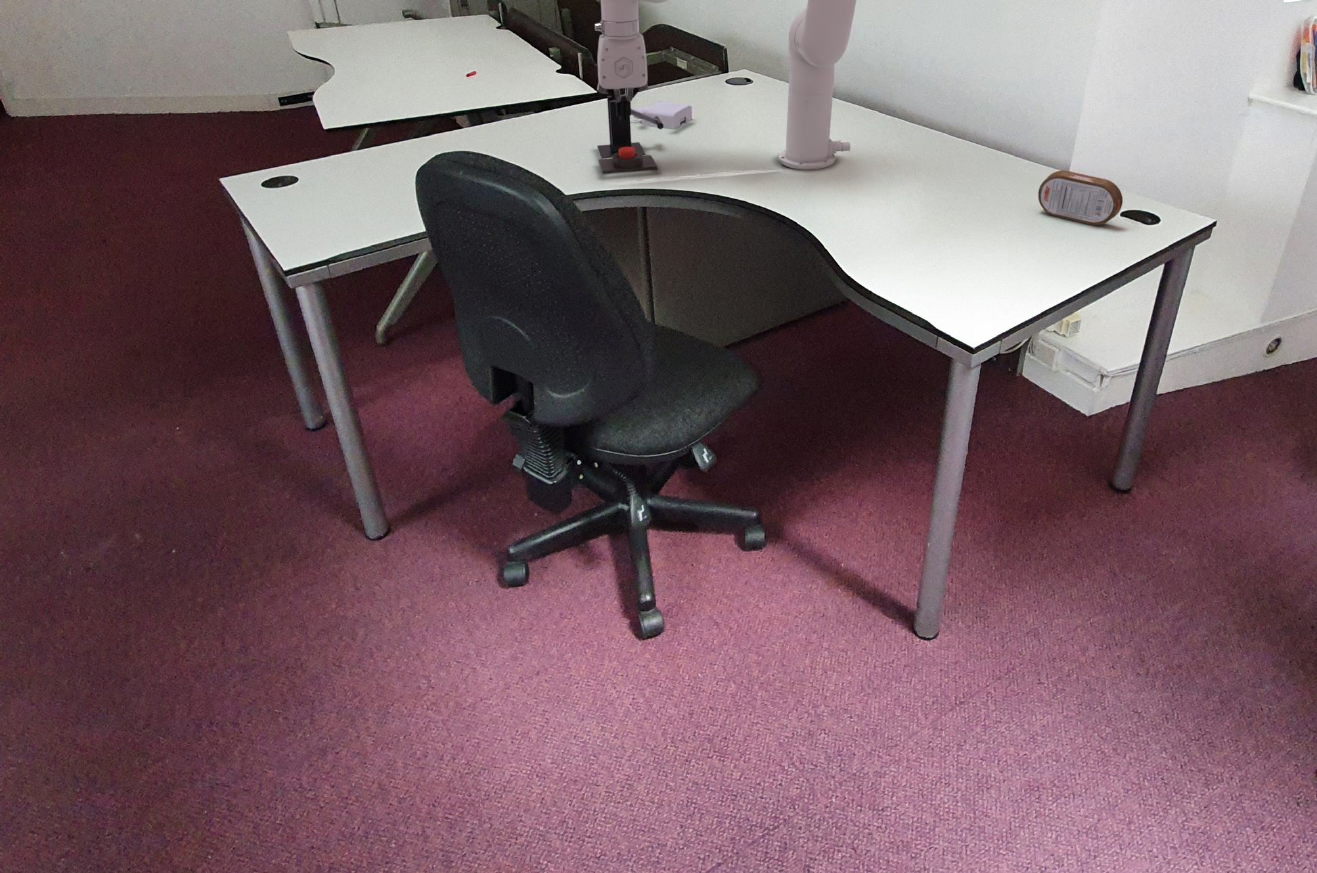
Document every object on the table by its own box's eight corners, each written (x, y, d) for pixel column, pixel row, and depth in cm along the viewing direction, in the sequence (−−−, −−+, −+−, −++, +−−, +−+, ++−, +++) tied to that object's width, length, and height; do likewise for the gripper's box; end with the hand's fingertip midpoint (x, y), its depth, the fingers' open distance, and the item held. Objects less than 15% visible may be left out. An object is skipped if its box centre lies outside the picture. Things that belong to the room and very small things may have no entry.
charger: (641, 116, 243) (692, 123, 236) (622, 126, 236) (674, 133, 230) (640, 97, 240) (691, 104, 234) (621, 106, 234) (673, 114, 227)
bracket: (639, 147, 222) (637, 91, 215) (645, 159, 215) (643, 101, 207) (597, 150, 221) (593, 94, 214) (602, 162, 214) (598, 105, 206)
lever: (657, 125, 218) (661, 115, 217) (661, 132, 214) (665, 122, 213) (609, 105, 214) (613, 95, 213) (612, 112, 209) (616, 102, 208)
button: (634, 154, 208) (633, 146, 207) (636, 159, 205) (636, 151, 204) (618, 155, 208) (617, 147, 207) (620, 160, 205) (619, 152, 204)
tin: (1117, 226, 175) (1128, 182, 170) (1110, 231, 173) (1122, 186, 168) (1038, 207, 184) (1047, 165, 179) (1032, 212, 182) (1040, 170, 177)
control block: (651, 162, 213) (650, 146, 211) (657, 173, 206) (656, 158, 204) (598, 166, 211) (597, 151, 209) (603, 178, 205) (602, 162, 203)
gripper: (585, 34, 188) (591, 126, 198) (659, 30, 189) (661, 122, 200) (582, 26, 194) (587, 116, 204) (653, 23, 196) (655, 112, 206)
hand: (623, 119), depth 202 cm, fingers closed
